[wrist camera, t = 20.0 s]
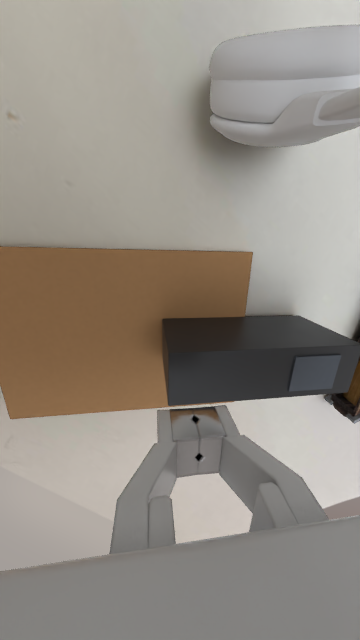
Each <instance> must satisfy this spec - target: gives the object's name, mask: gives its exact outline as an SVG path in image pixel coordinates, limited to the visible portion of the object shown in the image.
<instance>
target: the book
mask: <svg viewBox="0 0 360 640" xmlns="http://www.w3.org/2000/svg"><path fill="white" fill-rule="evenodd" d="M358 343H360V337H359V339H358ZM325 400H326V401H327V402H328V403H329V404H331V405H332V404H333V405H334V408H335V409H336V410H338V411H339V412H340V413H341V414H342V415H343V416H345V417H347V418H348V419H350V420H351V421H352V422H353V423H354V424H355V423H356V422H358V421H360V357H359V360H358V363H357V366H356V369H355V372H354V375H353V378H352V381H351V384H350V387H349V390H348V392H345V393H332V394H331V395H329V396H327V397H325Z"/></svg>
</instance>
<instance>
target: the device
mask: <svg viewBox="0 0 360 640" xmlns="http://www.w3.org/2000/svg"><path fill="white" fill-rule="evenodd" d="M359 357H360V343H358V342H356V341H354V340H351V339H349V338H347V337H345V336H343V335H340V334H338V333H336V332H334V331H332V330H329V329H327V328H325V327H323V326H321V325H318V324H316V323H314V322H312V321H310V320H307V319H305V318H303V317H301V316H259V317H212V318H165V319H162V358H163V366H164V375H165V383H166V392H167V401H168V406H176V405H189V404H202V403H215V402H228V401H241V400H254V399H267V398H280V397H293V396H306V395H319V394H332V393H345V392H348V390H349V387H350V384H351V381H352V378H353V375H354V372H355V369H356V366H357V363H358V360H359Z"/></svg>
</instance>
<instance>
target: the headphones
mask: <svg viewBox="0 0 360 640" xmlns="http://www.w3.org/2000/svg"><path fill="white" fill-rule="evenodd" d="M209 70H210V75H211V78H212V80H211V88H210V107H211V110H212V111H213V114H212V116H211V118H210V123H211V125H212V127H213V128H214V129H215V130H217V131H218V132H219V133H221V134H223V135H224V136H225V137H226V138H228V139H230V140H232V141H235V142H238V143H241V144H246V145H252V146H260V147H288V146H297V145H304V144H309V143H313V142H316V141H319V140H321V139H323V138H326V137H329V136H332V135H335V134H338V133H341V132H344V131H347V130H350V129H353V128H356V127H358V126H360V25H336V26H322V27H309V28H299V29H289V30H282V31H274V32H266V33H260V34H254V35H248V36H243V37H238V38H234V39H230V40H227V41H224V42H222V43H221V44H219V45H218V46H217V47H216V49H215V50H214V52H213V54H212V57H211V60H210V67H209Z"/></svg>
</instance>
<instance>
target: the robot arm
mask: <svg viewBox="0 0 360 640" xmlns="http://www.w3.org/2000/svg"><path fill="white" fill-rule="evenodd" d="M157 433H158V443H155V444H154V445H153V447H152V448H151V450H150V451H149V453H148V454H147V456H146V457H145V459H144V460H143V462H142V463H141V465H140V466H139V468H138V469H137V471H136V472H135V474H134V475H133V477H132V478H131V480H130V481H129V483H128V484H127V486H126V487H125V489H124V490H123V492H122V493H121V495H120V496H119V498H118V499H117V504H116V511H115V518H114V526H113V533H112V540H111V547H110V554H108V555H102V556H95V557H89V558H83V559H76V560H70V561H63V562H57V563H51V564H44V565H38V566H31V567H25V568H18V569H12V570H5V571H0V640H360V515H357V516H352V517H345V518H339V519H332V520H329V518H328V517H327V515H326V514H325V512H324V511H323V509H322V508H321V506H320V505H319V503H318V502H317V500H316V498H315V497H314V495H313V494H312V492H311V491H310V489H309V488H308V486H307V485H306V483H305V482H304V480H303V479H302V477H300V476H299V475H298V474H296V473H295V472H294V471H292V470H291V469H290V468H288V467H287V466H285V465H284V464H283V463H281V462H280V461H279V460H277V459H276V458H275V457H273V456H272V455H270V454H269V453H268V452H266V451H265V450H264V449H262V448H261V447H260V446H258V445H257V444H255V443H254V442H253V441H251V440H250V439H249V438H247V437H246V436H245V435H240V433H239V431H238V429H237V427H236V425H235V423H234V421H233V419H232V417H231V415H230V413H229V411H228V409H227V407H226V406H225V405H222V406H214V407H201V408H188V409H169V410H157ZM211 473H219V475H220V476H221V477H222V478H223V479H224V480H225V482H226V483H227V484H228V485H229V486H230V487H231V489H232V490H233V491H234V492H235V493H236V494H237V496H238V497H239V498H240V499H241V500H242V502H243V503H244V504H245V505H246V506H247V507H248V509H249V510H250V511H251V512H252V513H253V516H252V521H251V525H250V530H249V532H248V533H242V534H236V535H229V536H223V537H217V538H210V539H204V540H198V541H191V542H185V543H179V544H176V542H175V531H174V520H173V509H172V499H171V498H169V497H170V494H171V492H172V489H173V487H174V484H175V482H176V479H177V478H178V477H185V476H192V475H199V474H211Z"/></svg>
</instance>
